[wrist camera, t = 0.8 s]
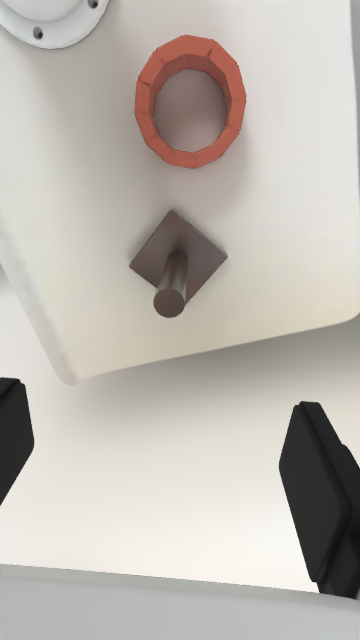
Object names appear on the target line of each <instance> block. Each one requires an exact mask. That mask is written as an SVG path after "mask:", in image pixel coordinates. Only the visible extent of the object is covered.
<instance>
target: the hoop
mask: <svg viewBox="0 0 360 640" xmlns="http://www.w3.org/2000/svg"><path fill="white" fill-rule="evenodd" d="M236 65H237V62H236V61H235V60H234V59H233V58H232V57H231V56H230V55H229V54H228V53H227V52H226V51H225V50H224V49H223V48H222V47H221V46H220V45H219V44H218V43H217V42H216V41H215V42H214V40H212V39H207V38H201V37H195V36H190V35H184V36H183V35H182V36H180V37H178V38H176V39H174V40H172V41H170V42H168V43H166V44H164V45H163V46H161V47H159V48H157V49H156V51H154V52H153V53H152V55H151V57H150V58H149V60H148V62H147V63H146V65H145V67H144V68H143V70H142V72H141V73H140V75H139V77H138V80H137V87H136V100H135V117H136V119H137V122H138V125H139V127H140V130H141V132H142V135H143V138H144V140H145V143H146V144H147V146H149V147H150V148H151V149H152V150H153V151H154V152H155V153H156V154H158V155H159V156H160V157H161V158H162V159H163V160H164V161H166V162H167V163H169V164H171V165H175V166H180V167H186V168H192V169H194V168H198V167H201V166H203V165H205V164H208V163H210V162H212V161H215V160H217V159H218V158H220V157H221V156H222V155H223V154H224V152H225V151H226V150H227V148H228V147H229V146H230V144H231V143H232V142H233V140H234V139H235V138H236V137H237V135H238V134H239V131H240V129H241V124H242V119H243V114H244V109H245V104H246V93H245V89H244V85H243V81H242V77H241V74H240V70H239V66H238V65H237V66H236ZM186 68H188V69H194V70H199V71H205V72H207V73H208V74H209V75H210V76H211V77H212V78H213V79H214V80H215V81H216V82H217V83H218V84H219V85H220V86H221V87H222V90H223V93H224V97H225V101H226V104H227V108H228V111H227V116H226V122H225V127H224V131H223V132H222V133H221V135H220V136H219V137H218V139H217V140H216V142H215V143H214V144H213V145H211V146H209V147H206V148H204V149H202V150H200V151H197V152H195V153H190V152H184V151H178V150H173V149H172V148H171V147H170V146H169V145H168V144H166V143H165V142H164V141H163V140H162V139H161V138H160V135H159V133H158V130H157V127H156V124H155V121H154V110H155V100H156V95H157V94H158V92H159V91H160V89H161V88H162V86H163V84H164V83H165V81H166V80H167V78H168V77H170V76H172V75H174V74H176V73H178V72H180V71H182V70H184V69H186Z"/></svg>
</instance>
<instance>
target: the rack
mask: <svg viewBox="0 0 360 640" xmlns="http://www.w3.org/2000/svg"><path fill="white" fill-rule="evenodd" d="M226 258H227V255H226V254H225V253H224V252H223V251H222V250H221V249H219V248H218V247H217V246H216V245H215V244H213V243H212V242H211V241H210V240H209V239H207V238H206V237H205V236H204V235H203V234H202V233H200V232H199V231H198V230H197V229H196V228H194V227H193V226H192V225H191V224H190V223H188V222H187V221H186V220H185V219H184V218H183V217H181V216H180V215H179V214H178V213H177V212H175V211H174V210H173V209H171V211H170V212H169V213H168V215H167V216H166V217H165V219H164V220H163V221H162V223H161V224H160V225H159V227H158V228H157V229H156V231H155V232H154V233H153V235H152V236H151V237H150V239H149V240H148V241H147V243H146V244H145V245H144V247H143V248H142V249H141V251H140V252H139V253H138V255H137V256H136V257H135V259H134V260H133V261H132V263H131V264H130V266H129V267H130V268H131V269H132V270H134V271H135V272H136V273H138V274H139V275H140V276H142V277H143V278H144V279H146V280H147V281H148V282H150V283H151V284H152V285H153V286H155V287H156V288H157V291H156V294H155V297H154V308H155V310H156V311H157V312H158V313H159V314H160V315H161V316H163V317H167V318H172V317H176V316H178V315H179V314H180V313H181V312H182V311H183V309H184V306H185V305H186V304H187V303H188V301H189V300H190V299H191V298H192V297H193V296H194V295H195V293H196V292H197V291H198V290H199V289H200V288H201V287H202V286H203V284H204V283H205V282H206V281H207V280H208V279H209V278H210V276H211V275H212V274H213V273H214V272H215V271H216V270H217V268H218V267H219V266H220V265H221V264H222V263H223V262H224V260H225V259H226Z"/></svg>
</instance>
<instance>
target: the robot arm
mask: <svg viewBox="0 0 360 640" xmlns="http://www.w3.org/2000/svg"><path fill="white" fill-rule="evenodd" d="M108 2H109V0H0V25H1V26H2V27H4V28H5V29H6V30H7V31H9V32H10V33H11V34H12V35H14V36H15V37H17V38H19V39H20V40H22V41H24V42H26V43H28V44H31V45H33V46H36V47H39V48H48V49H56V48H64V47H67V46H70V45H72V44H75V43H77V42H78V41H80V40H81V39H83V38H84V37H85V36H87V35H88V34H89V33H90V32H91V31H92V30H93V28H94V27H95V26H96V25H97V24H98V22H99V21H100V19H101V17H102V15H103V14H104V12H105V10H106V7H107V5H108ZM94 4H98V5H97V7H96V8H94V9H93V5H94ZM41 34H43V36H42V38H41V39H40V35H41ZM33 448H34V436H33V430H32V424H31V419H30V412H29V406H28V400H27V394H26V388H25V385H24V384H23V383H21V382H20V380H19V379H15V378H0V505H1V504H2V502H3V500H4V499H5V497H6V495H7V493H8V492H9V490H10V488H11V487H12V485H13V483H14V482H15V480H16V478H17V476H18V475H19V473H20V471H21V470H22V468H23V466H24V465H25V463H26V461H27V460H28V458H29V456H30V454H31V453H32V451H33ZM279 471H280V475H281V479H282V482H283V486H284V489H285V493H286V496H287V500H288V503H289V507H290V511H291V514H292V517H293V521H294V524H295V528H296V532H297V535H298V538H299V542H300V546H301V549H302V553H303V556H304V559H305V563H306V567H307V570H308V574H309V577H310V579H311V581H312V582H317V586H318V589H319V592H320V593H313V592H305V591H296V590H287V589H277V588H270V587H260V586H250V585H238V584H227V583H217V582H205V581H195V580H184V579H174V578H162V577H151V576H140V575H127V574H117V573H105V572H93V571H82V570H70V569H57V568H45V567H33V566H20V565H7V564H0V640H360V468H359V466H358V464H357V463H356V461H355V459H354V457H353V455H352V454H351V452H350V450H349V449H348V448H347V446H345V445H343V444H342V443H341V441H340V440H339V438H338V436H337V434H336V432H335V430H334V429H333V427H332V425H331V423H330V421H329V419H328V418H327V416H326V414H325V412H324V410H323V408H322V407H321V405H320V404H319V403H318V402H306V401H301V402H300V403H299V405H295V406H294V408H293V412H292V415H291V419H290V423H289V427H288V431H287V434H286V438H285V442H284V446H283V449H282V453H281V457H280V461H279Z"/></svg>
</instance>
